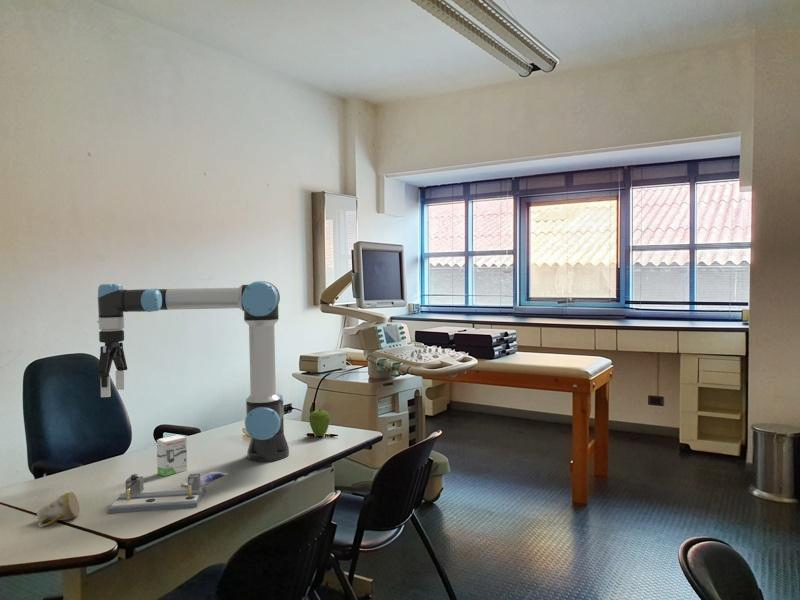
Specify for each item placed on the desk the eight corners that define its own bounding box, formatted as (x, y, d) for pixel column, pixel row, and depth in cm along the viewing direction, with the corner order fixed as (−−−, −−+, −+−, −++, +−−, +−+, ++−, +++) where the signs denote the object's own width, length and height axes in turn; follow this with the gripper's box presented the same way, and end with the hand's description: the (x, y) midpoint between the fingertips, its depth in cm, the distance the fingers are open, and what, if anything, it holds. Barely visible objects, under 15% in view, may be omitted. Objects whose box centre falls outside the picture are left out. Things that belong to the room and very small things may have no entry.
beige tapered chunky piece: (38, 518, 159) (58, 483, 162) (71, 532, 160) (90, 497, 163) (26, 522, 152) (47, 486, 155) (61, 537, 153) (81, 500, 156)
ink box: (164, 476, 192) (163, 441, 192) (156, 474, 195) (155, 439, 195) (187, 470, 199) (187, 436, 199) (180, 467, 202) (179, 434, 202)
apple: (312, 433, 245) (312, 406, 245) (332, 433, 245) (331, 406, 244) (307, 439, 237) (306, 411, 236) (327, 439, 236) (326, 411, 236)
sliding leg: (143, 490, 173) (143, 473, 173) (135, 500, 165) (134, 481, 165) (129, 491, 173) (129, 473, 172) (120, 501, 165) (120, 482, 165)
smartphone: (230, 473, 193) (196, 487, 180) (230, 476, 193) (196, 490, 180) (214, 470, 196) (179, 484, 183) (214, 473, 196) (179, 487, 183)
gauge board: (205, 491, 178) (205, 470, 178) (196, 507, 165) (196, 484, 165) (123, 496, 175) (123, 475, 174) (108, 513, 162) (107, 490, 162)
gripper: (113, 327, 205) (115, 387, 205) (84, 333, 180) (86, 400, 181) (135, 327, 206) (137, 386, 206) (109, 332, 181) (111, 399, 182)
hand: (113, 393), depth 193 cm, fingers open, 13 cm apart
